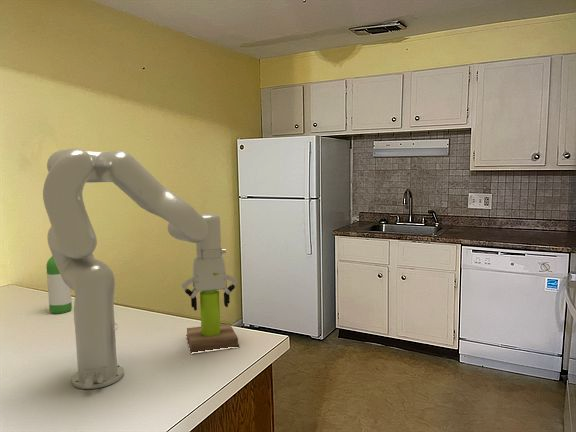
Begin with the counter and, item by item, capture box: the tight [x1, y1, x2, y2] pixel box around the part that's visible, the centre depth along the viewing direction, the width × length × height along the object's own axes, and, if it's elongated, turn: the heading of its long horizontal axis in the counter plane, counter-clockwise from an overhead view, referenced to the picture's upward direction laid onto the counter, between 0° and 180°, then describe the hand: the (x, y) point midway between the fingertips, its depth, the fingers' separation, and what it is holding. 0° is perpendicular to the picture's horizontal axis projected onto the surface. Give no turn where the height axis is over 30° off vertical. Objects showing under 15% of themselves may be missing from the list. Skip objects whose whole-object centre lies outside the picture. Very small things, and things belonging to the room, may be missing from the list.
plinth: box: [185, 322, 240, 354], centre depth 141 cm, size 15×15×3 cm
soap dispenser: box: [199, 273, 221, 336], centre depth 140 cm, size 6×7×20 cm
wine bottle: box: [45, 254, 73, 315], centre depth 172 cm, size 8×8×30 cm
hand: (210, 307), depth 140 cm, fingers open, 9 cm apart
